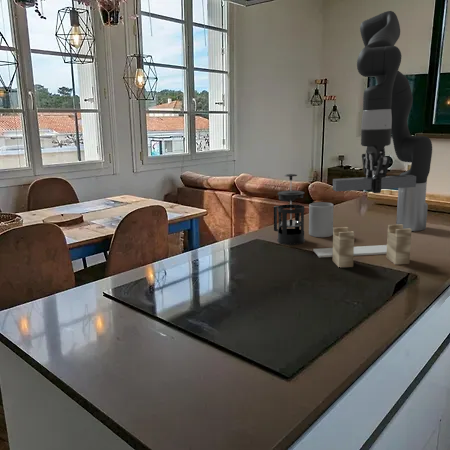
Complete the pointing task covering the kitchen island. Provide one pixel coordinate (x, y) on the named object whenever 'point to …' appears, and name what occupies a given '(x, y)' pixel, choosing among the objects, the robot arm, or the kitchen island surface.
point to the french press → (291, 234)
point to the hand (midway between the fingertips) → (373, 191)
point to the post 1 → (343, 247)
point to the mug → (321, 219)
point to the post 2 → (398, 244)
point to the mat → (357, 251)
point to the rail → (366, 183)
